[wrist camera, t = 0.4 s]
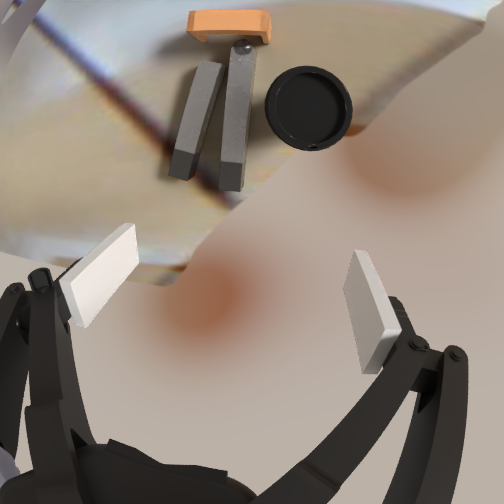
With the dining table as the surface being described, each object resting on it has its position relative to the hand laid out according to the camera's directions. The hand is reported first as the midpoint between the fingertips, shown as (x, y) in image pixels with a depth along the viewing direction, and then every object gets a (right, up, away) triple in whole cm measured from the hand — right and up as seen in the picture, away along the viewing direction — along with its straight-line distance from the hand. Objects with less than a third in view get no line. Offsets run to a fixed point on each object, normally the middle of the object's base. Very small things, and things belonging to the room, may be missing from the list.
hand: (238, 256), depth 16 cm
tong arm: (-7, +19, +20) cm, 29 cm away
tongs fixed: (-1, +19, +20) cm, 27 cm away
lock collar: (-1, +30, +14) cm, 33 cm away
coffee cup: (+8, +20, +19) cm, 28 cm away
